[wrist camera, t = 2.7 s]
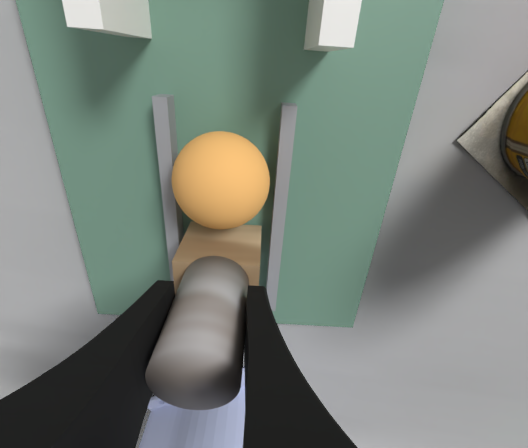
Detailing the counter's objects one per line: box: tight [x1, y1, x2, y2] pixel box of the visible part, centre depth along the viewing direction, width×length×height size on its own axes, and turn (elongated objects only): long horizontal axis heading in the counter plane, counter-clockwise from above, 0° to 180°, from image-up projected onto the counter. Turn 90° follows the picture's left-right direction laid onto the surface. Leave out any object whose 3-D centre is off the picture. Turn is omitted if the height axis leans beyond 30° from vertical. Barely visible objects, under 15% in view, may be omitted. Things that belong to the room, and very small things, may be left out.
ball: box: [172, 131, 270, 229], centre depth 13 cm, size 4×4×4 cm
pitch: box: [16, 0, 444, 328], centre depth 14 cm, size 24×16×2 cm, turn 176°
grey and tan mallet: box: [145, 221, 262, 410], centre depth 12 cm, size 3×4×8 cm
